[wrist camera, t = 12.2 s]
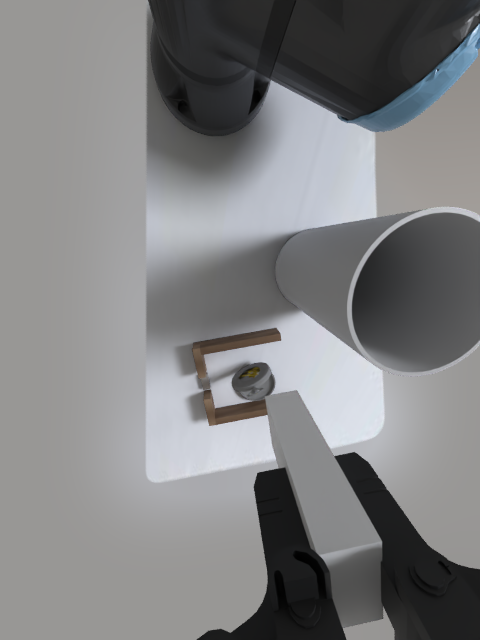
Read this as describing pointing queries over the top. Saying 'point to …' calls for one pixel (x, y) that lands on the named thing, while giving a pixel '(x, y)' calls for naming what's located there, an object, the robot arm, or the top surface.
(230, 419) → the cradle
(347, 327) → the cylinder vase
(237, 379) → the pocket watch
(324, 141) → the top surface
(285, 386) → the top surface
